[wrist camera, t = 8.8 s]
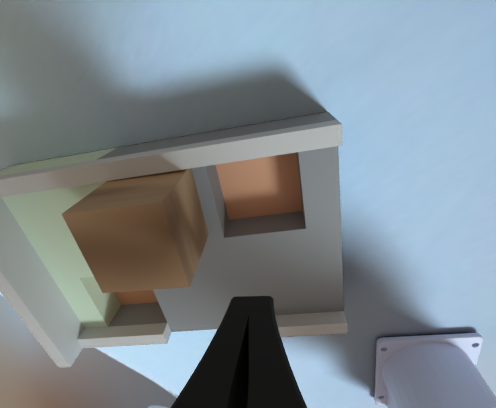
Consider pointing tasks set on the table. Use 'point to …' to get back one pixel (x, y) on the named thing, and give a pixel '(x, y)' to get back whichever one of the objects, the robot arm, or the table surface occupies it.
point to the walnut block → (141, 231)
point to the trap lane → (216, 247)
